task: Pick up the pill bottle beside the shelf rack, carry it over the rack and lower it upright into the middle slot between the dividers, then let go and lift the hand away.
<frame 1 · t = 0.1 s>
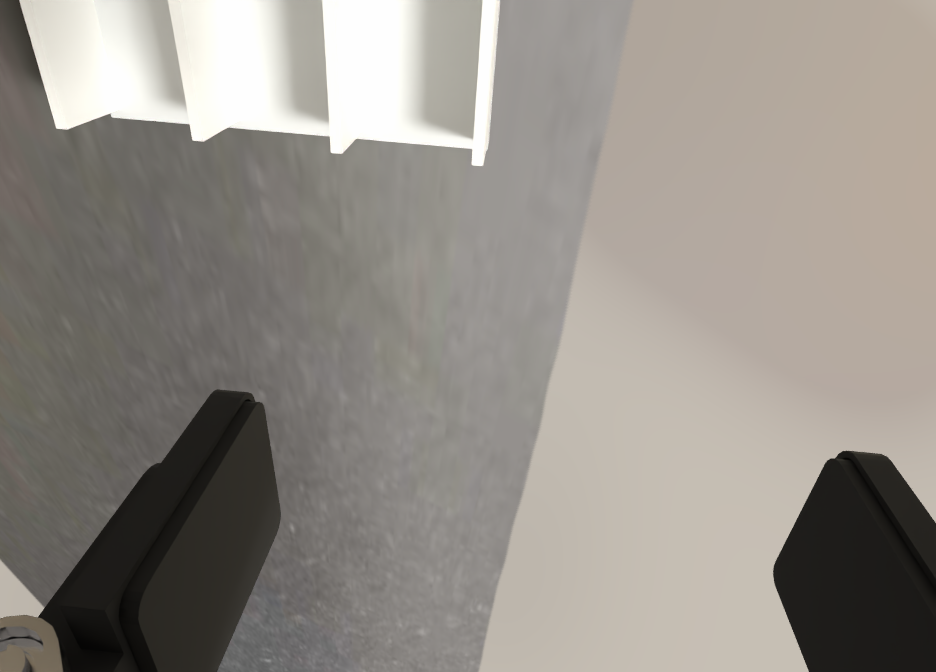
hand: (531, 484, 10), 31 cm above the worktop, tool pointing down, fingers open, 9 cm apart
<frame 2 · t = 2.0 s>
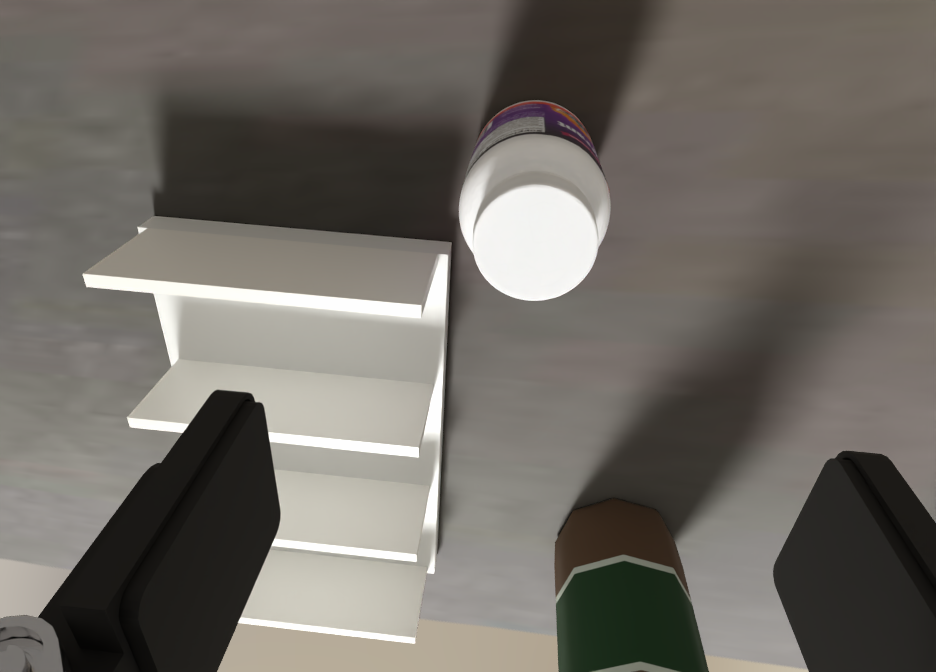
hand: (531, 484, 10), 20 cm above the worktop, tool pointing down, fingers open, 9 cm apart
pill bottle: (533, 158, 28), on the worktop
shelf rack: (318, 413, 36), on the worktop
beer bottle: (613, 534, 40), on the worktop
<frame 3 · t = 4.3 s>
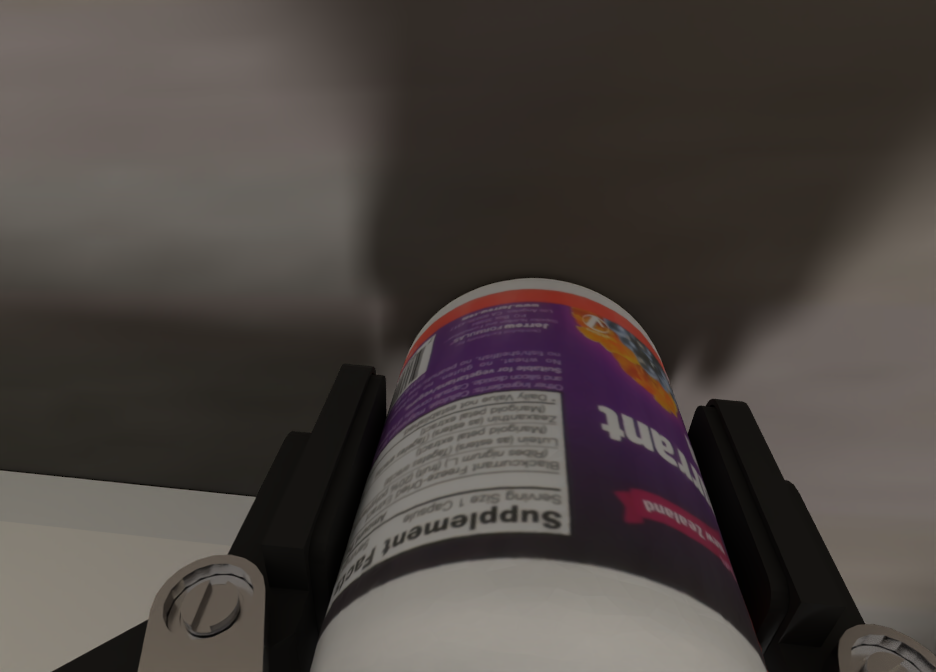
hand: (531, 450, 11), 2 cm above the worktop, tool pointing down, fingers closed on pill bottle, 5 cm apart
pill bottle: (530, 378, 13), on the worktop, touching gripper
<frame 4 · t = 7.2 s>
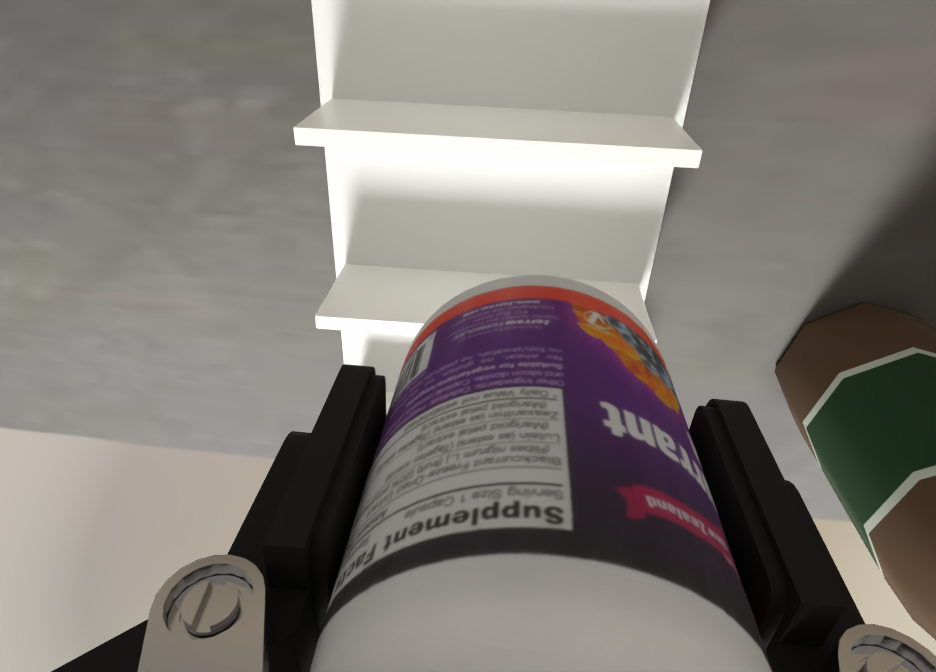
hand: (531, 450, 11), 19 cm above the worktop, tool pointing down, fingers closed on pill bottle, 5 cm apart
pill bottle: (531, 376, 13), point 17 cm above the worktop, touching gripper
shelf rack: (495, 192, 28), on the worktop
beer bottle: (846, 360, 32), on the worktop
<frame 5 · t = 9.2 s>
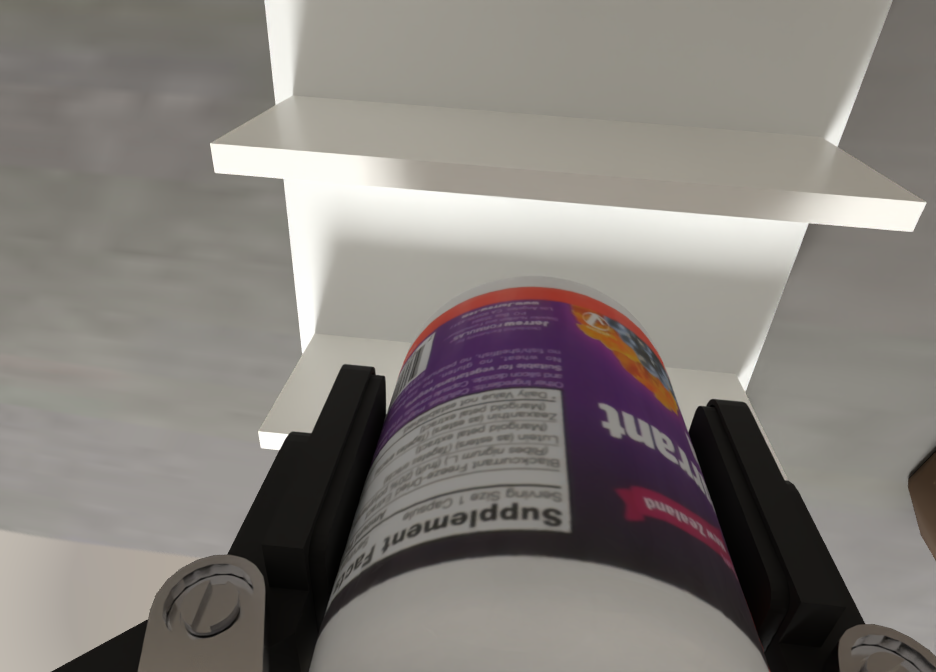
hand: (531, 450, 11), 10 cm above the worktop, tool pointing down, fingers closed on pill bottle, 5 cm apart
pill bottle: (530, 377, 13), point 8 cm above the worktop, touching gripper
shelf rack: (533, 237, 20), on the worktop
when the fingers open (5 cm above the worktop, at t = 10.6 s): pill bottle drops 1 cm, resting on shelf rack.
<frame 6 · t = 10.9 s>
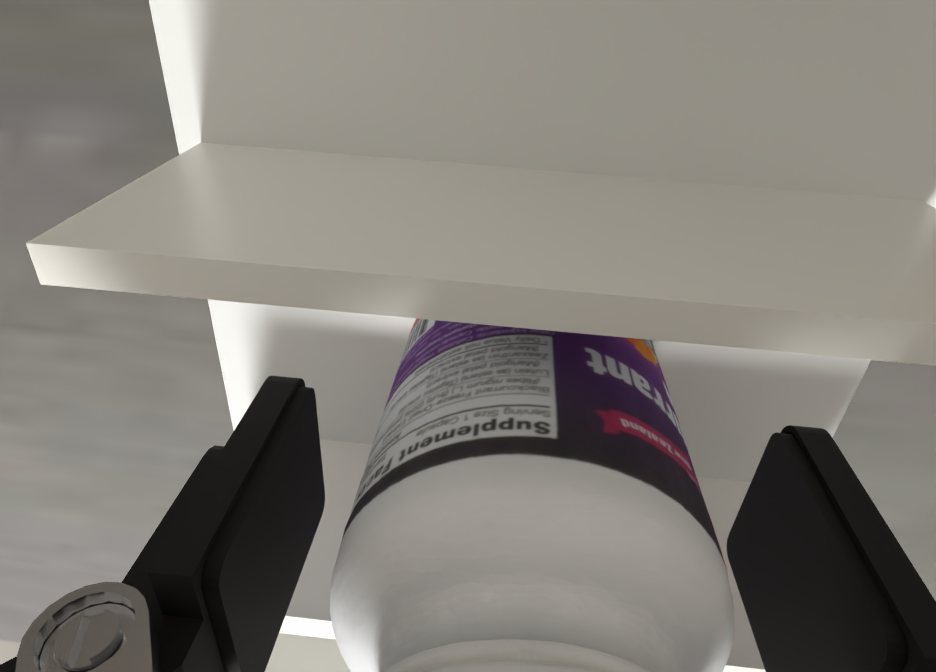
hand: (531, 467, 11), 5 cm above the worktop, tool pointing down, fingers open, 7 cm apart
pill bottle: (527, 343, 14), point 1 cm above the worktop, touching shelf rack
shelf rack: (529, 314, 15), on the worktop
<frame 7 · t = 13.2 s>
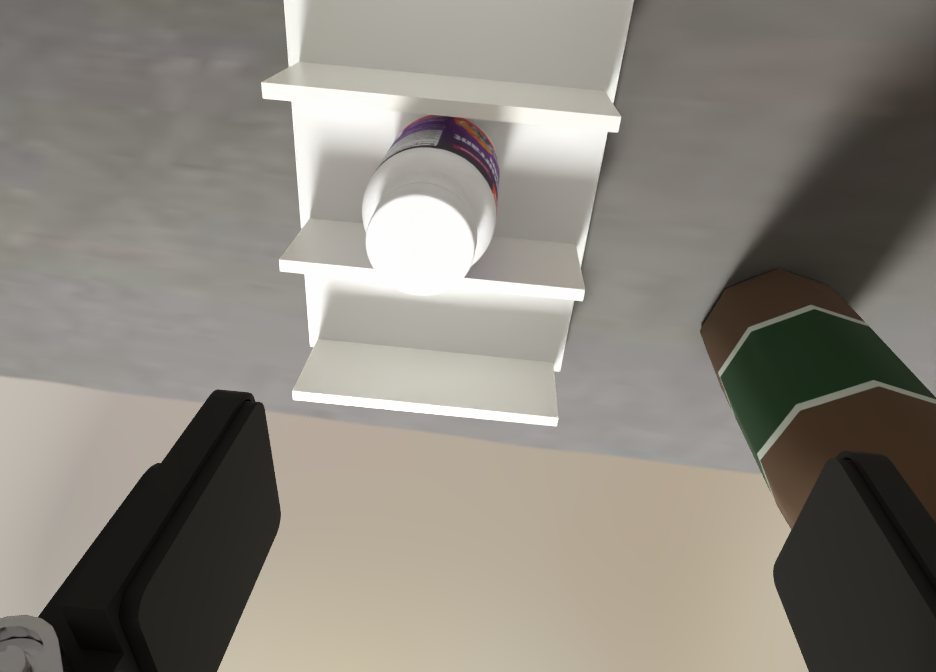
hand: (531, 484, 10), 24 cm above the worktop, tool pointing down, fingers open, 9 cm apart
pill bottle: (445, 164, 30), point 1 cm above the worktop, touching shelf rack
shelf rack: (449, 156, 31), on the worktop
beer bottle: (764, 322, 36), on the worktop
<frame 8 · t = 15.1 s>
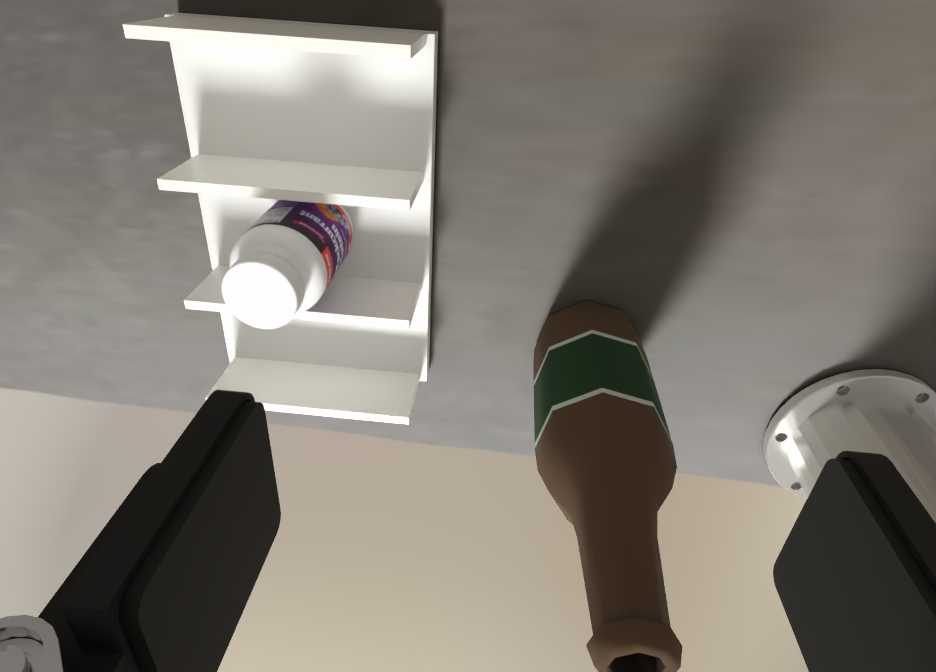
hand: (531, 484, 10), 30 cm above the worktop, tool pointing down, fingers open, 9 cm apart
pill bottle: (315, 225, 40), point 1 cm above the worktop, touching shelf rack
shelf rack: (321, 217, 41), on the worktop
beer bottle: (586, 341, 44), on the worktop
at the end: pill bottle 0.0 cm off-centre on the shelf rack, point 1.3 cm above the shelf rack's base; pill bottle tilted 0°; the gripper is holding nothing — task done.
